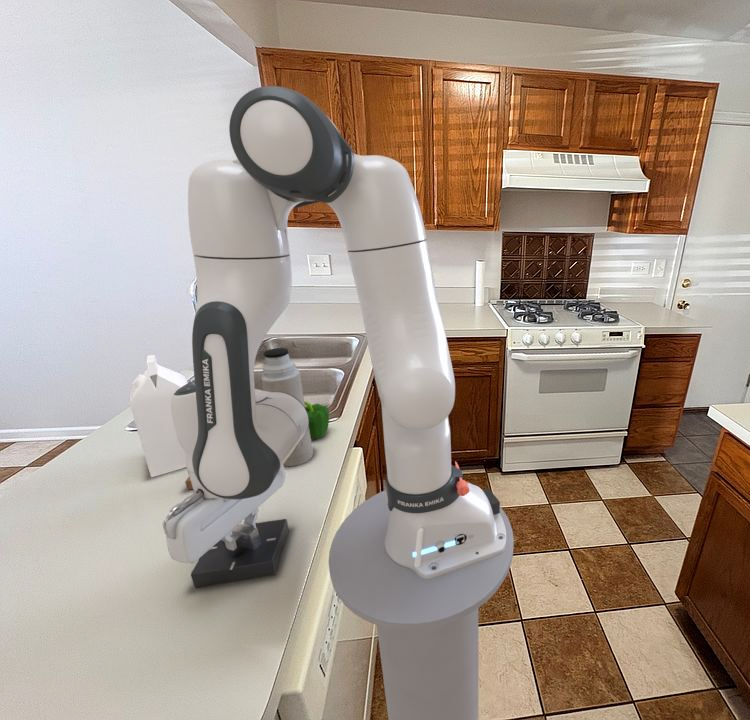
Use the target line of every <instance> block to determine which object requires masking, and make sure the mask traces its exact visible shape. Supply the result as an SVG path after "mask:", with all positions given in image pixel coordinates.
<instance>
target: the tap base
mask: <svg viewBox="0 0 750 720" xmlns="http://www.w3.org/2000/svg"><path fill="white" fill-rule="evenodd" d="M255 524H256V528H258V532H259V536H260V540H261V545H260V546H259V547H258V548H257V549H256V550H255V551H252V550H248V549H244V548H239V547H237V548H236V549H235V550H234V551H233V550H229V549H227V548H226V545H225V544H223V541H222V540H220V541H219V542H218V543H216V544H215V545H214V546H213V547H212V548H211V549H209V550H208V551H207V552H206V553H205V554H204V555H203V556H201V557H200V558H199V559H198V560H197V561H196V564H195V565H194V567H193V569H192V571H191V573H190V577H191V580H192V583H193V586H194V589H200V588H204V587H212V586H216V585H217V586H218V585H223V584H230V583H234V582H236V583H237V582H240V581H241V582H242V581H246V580H247V581H248V580H252V579H260V578H266V577H272V576H275V575H276V573H277V570H278V567H279V565H280V564H279V563H280V561H281V558H282V554H283V551H284V548H285V545H286V542H287V538H288V535H289V532H290V530H289V524H288V520H287V518H283V519H276V520H275V519H274V520H268V521H267V520H266V521H260V522H255Z"/></svg>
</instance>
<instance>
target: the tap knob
mask: <svg viewBox="0 0 750 720" xmlns="http://www.w3.org/2000/svg"><path fill="white" fill-rule="evenodd" d="M232 535H235V536H239V537H240V541H241V544H240V545H239V546H238V547H239V548H244V549H248V550H252V551H255V550H256V549H257V548H258V547H259V546H260V545H261V540H260V536H259V532H258V528H254V527H249V526H245V525H243V524H241V523H239V524H238V525H237V526H236V527H235V528H234V529H232ZM223 544H225V542H224V541H223Z"/></svg>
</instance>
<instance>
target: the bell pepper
mask: <svg viewBox="0 0 750 720" xmlns="http://www.w3.org/2000/svg"><path fill="white" fill-rule="evenodd" d="M304 402H305V408H306V411H307V413H308V416H309V431H310V437H311V441H312V440H319V439H321V438H323V437H324V436H325V435H326V433H327V431H328V428H329V424H330V409H329V408H328V407H327V406H326V405H322V404H320V403H314V404H311V403H310V402H309V401H306V400H304Z"/></svg>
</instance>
